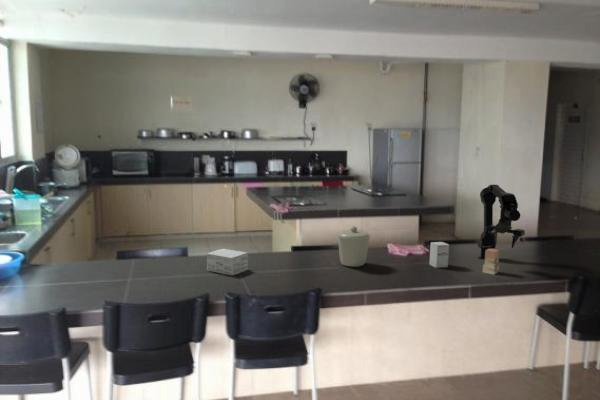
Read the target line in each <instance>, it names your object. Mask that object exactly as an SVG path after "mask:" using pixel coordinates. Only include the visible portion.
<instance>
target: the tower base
mask: <svg viewBox="0 0 600 400" xmlns="http://www.w3.org/2000/svg"><path fill="white" fill-rule="evenodd" d="M499 270H500V265H499V264H498V265H497V266H495V267H491V266H487V265H484V264H483V265H482V273H485V274H489V275H496V274H498V273H499V272H500V271H499Z"/></svg>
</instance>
